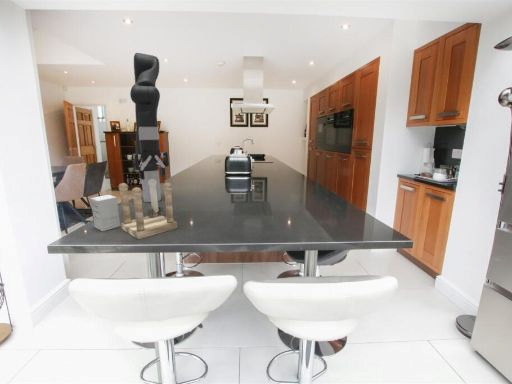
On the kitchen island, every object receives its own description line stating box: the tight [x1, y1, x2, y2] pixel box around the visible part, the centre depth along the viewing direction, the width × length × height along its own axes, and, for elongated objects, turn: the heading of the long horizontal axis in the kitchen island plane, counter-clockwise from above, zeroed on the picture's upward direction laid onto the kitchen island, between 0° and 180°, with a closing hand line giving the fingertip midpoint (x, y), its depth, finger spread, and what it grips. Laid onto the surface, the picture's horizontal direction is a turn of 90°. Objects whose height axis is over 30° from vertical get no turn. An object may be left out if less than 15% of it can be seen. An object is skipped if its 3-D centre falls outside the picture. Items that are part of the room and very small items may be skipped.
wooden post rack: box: [118, 182, 179, 240], centre depth 106 cm, size 16×17×19 cm
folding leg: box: [148, 179, 159, 213], centre depth 114 cm, size 3×3×14 cm
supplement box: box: [90, 194, 121, 232], centre depth 108 cm, size 7×7×13 cm
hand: (152, 178), depth 112 cm, fingers open, 8 cm apart
